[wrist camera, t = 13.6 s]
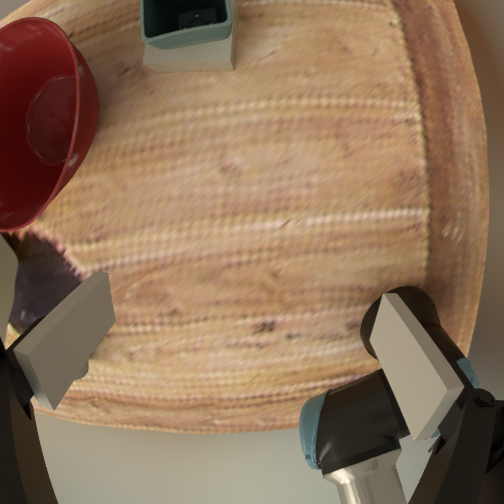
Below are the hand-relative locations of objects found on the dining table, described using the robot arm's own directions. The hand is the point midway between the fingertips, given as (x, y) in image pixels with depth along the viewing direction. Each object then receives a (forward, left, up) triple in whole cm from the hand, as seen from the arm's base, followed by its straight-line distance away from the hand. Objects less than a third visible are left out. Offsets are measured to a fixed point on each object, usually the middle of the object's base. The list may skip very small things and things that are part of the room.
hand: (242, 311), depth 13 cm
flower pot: (+8, -22, -25) cm, 34 cm away
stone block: (+9, -23, -31) cm, 39 cm away
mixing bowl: (+32, -12, -31) cm, 46 cm away
